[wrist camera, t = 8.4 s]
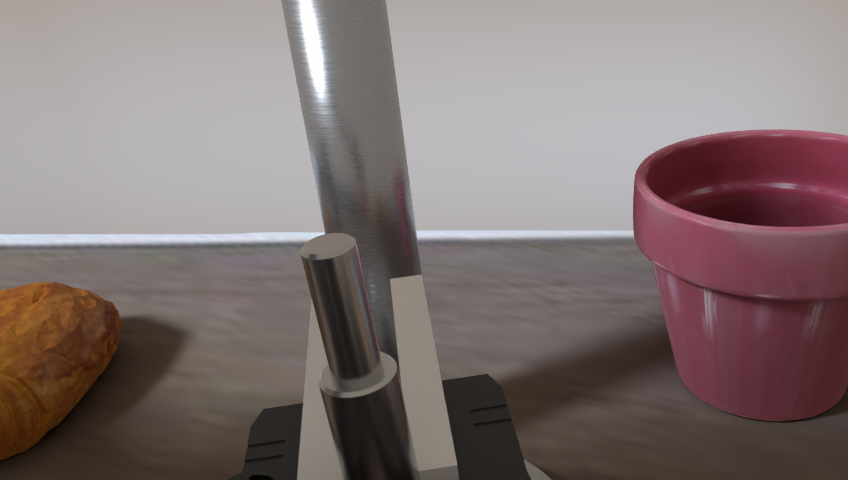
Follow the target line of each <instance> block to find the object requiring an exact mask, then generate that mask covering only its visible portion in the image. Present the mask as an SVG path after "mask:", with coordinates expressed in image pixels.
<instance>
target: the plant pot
mask: <svg viewBox="0 0 848 480" xmlns="http://www.w3.org/2000/svg"><path fill="white" fill-rule="evenodd" d="M633 200H634V201H633V221H634V223H633V225H634V237H635V240H636V243H637V245H638V246H639V248H640V250H641V251H642V252H643V254H644V255H645V256H646V257H647V258H648V259H649V260H650V261H652V262H653V267H654V273H655V278H656V283H657V287H658V292H659V296H660V301H661V306H662V310H663V314H664V319H665V323H666V327H667V331H668V335H669V339H670V343H671V347H672V351H673V355H674V359H675V363H676V368H677V371H678V374H679V376H680V379H681V380H682V382H683V383H684V385H685V386H686V387H687V388H688V389H689V390H690V391H691V392H692V393H693V394H694V395H696V396H697V397H698V398H700V399H701V400H703V401H704V402H706V403H708V404H710V405H712V406H714V407H716V408H718V409H720V410H723V411H726V412H729V413H732V414H735V415H738V416H742V417H747V418H752V419H758V420H766V421H788V420H798V419H805V418H809V417H813V416H815V415H818V414H820V413H823V412H825V411H827V410H828V409H830V408H831V407H833V406H834V405H835V404H836V403H838V402H839V400H840V399H841V398H842V396H843V395H844V393H845V390H846V388H847V386H848V136H845V135H839V134H833V133H824V132H815V131H803V130H747V131H735V132H725V133H718V134H711V135H705V136H700V137H696V138H691V139H688V140H684V141H680V142H677V143H675V144H672V145H669V146H667V147H664V148H662V149H660V150H658V151H656V152H655V153H653V154H651V155H650V156H648V157H647V158H646V159H645V160H644V161H643V162H642V163H641V164H640V166H639V167H638V169H637V171H636V174H635V183H634V199H633Z"/></svg>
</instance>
